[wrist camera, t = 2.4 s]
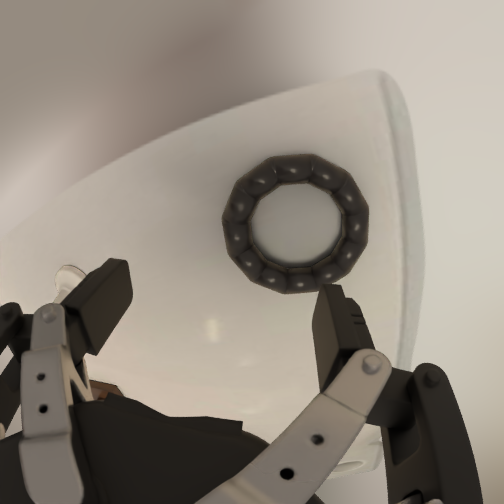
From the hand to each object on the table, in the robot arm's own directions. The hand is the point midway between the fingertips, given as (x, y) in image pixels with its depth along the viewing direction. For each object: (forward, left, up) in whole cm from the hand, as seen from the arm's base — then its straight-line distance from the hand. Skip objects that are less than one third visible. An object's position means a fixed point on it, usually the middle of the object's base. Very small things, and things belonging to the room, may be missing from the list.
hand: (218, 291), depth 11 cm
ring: (+1, +4, -8) cm, 9 cm away
